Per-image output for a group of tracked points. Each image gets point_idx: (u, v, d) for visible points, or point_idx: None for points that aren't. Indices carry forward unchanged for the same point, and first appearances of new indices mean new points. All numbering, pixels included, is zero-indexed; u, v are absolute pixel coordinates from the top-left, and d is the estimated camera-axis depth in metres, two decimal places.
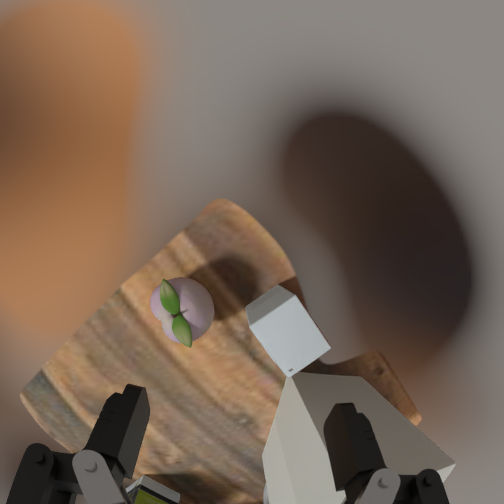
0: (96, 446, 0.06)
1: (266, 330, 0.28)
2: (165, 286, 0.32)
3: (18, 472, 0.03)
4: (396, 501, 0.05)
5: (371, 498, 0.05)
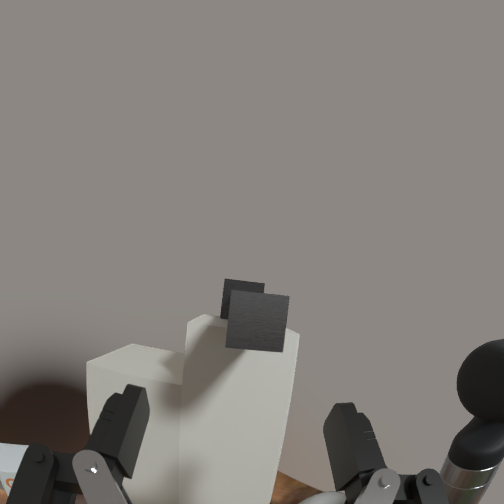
0: (96, 446, 0.06)
1: (5, 464, 0.11)
2: None
3: (18, 472, 0.03)
4: (396, 501, 0.05)
5: (371, 498, 0.05)
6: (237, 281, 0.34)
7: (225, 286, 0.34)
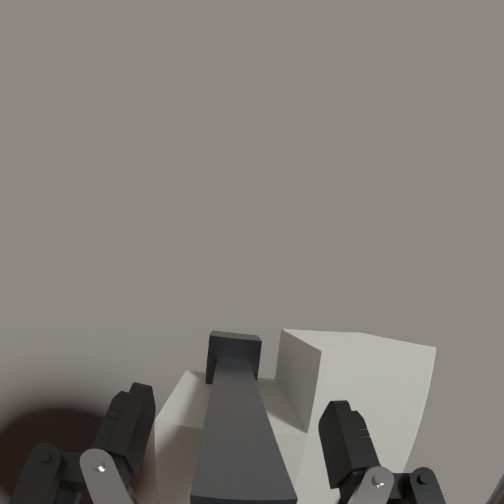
0: (103, 445, 0.06)
1: None
2: None
3: (23, 471, 0.03)
4: (390, 499, 0.05)
5: (364, 496, 0.05)
6: (226, 338, 0.25)
7: (210, 345, 0.25)
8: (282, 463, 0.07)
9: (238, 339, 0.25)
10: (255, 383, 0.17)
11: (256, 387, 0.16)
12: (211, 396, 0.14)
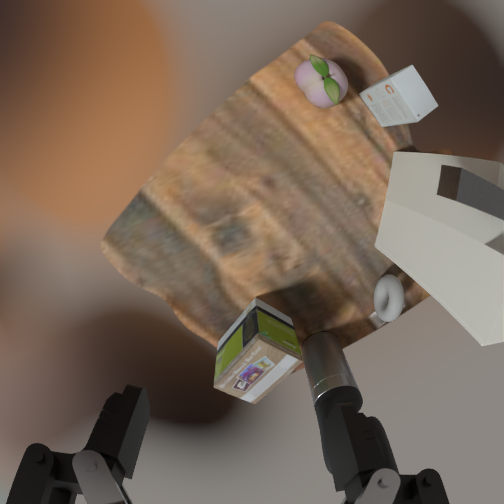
0: (96, 446, 0.06)
1: (400, 82, 0.29)
2: (315, 57, 0.33)
3: (18, 472, 0.03)
4: (396, 501, 0.05)
5: (371, 498, 0.05)
6: None
7: None
8: (470, 205, 0.18)
9: None
10: None
11: None
12: None
